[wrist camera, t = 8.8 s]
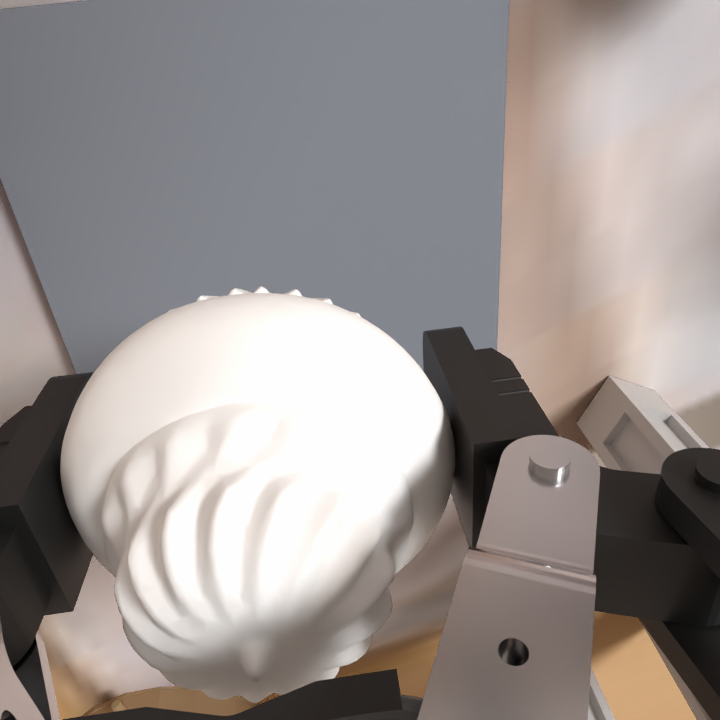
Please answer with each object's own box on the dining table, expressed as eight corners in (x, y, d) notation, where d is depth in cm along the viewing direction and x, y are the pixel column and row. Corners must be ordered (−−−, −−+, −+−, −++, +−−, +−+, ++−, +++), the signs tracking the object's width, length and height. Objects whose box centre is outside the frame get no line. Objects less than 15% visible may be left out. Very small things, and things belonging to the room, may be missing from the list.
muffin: (151, 485, 14) (53, 842, 8) (81, 231, 11) (-165, 507, 5) (413, 460, 15) (502, 780, 9) (417, 210, 11) (563, 439, 5)
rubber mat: (504, -40, 16) (510, -42, 15) (490, 405, 23) (494, 412, 22) (-54, 15, 15) (-63, 15, 14) (114, 455, 22) (111, 463, 22)
